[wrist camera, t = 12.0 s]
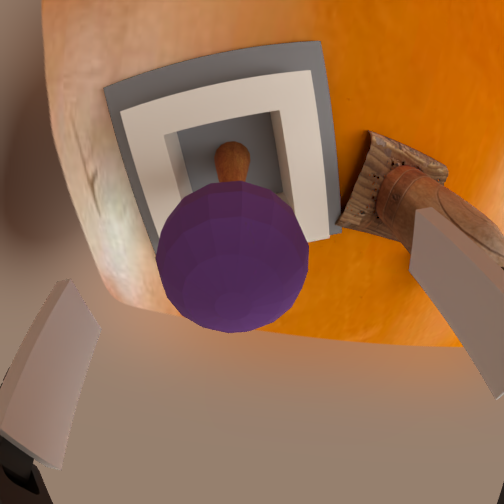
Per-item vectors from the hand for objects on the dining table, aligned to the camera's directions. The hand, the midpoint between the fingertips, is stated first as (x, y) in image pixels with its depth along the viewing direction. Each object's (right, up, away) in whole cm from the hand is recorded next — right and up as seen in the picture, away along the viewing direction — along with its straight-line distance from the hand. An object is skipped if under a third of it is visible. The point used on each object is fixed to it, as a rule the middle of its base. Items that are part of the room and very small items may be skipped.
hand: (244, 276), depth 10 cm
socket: (-2, +10, +17) cm, 20 cm away
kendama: (-2, +9, +16) cm, 19 cm away
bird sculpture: (+16, +8, +21) cm, 27 cm away
